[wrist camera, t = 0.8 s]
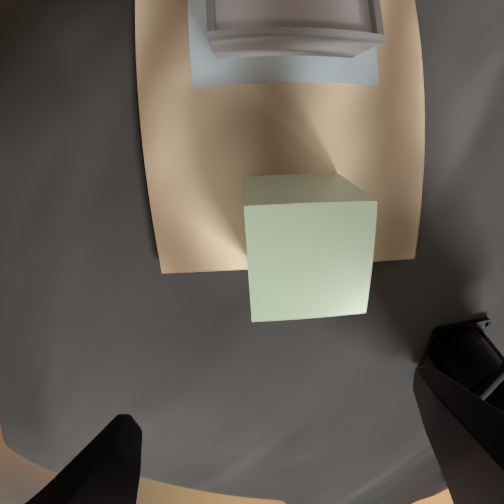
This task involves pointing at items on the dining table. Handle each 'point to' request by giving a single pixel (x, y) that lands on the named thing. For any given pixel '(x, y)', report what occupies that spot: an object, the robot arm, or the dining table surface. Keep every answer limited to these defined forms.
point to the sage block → (308, 246)
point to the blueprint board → (276, 114)
